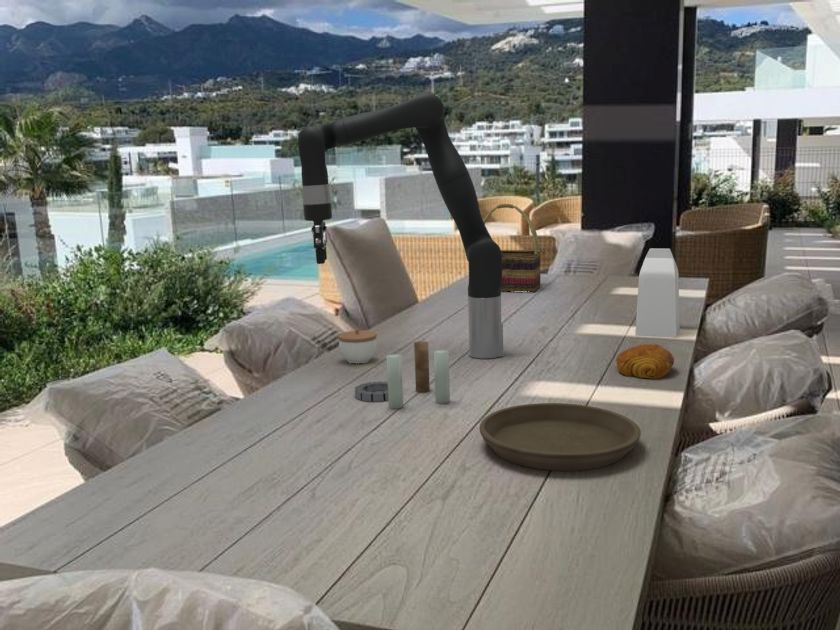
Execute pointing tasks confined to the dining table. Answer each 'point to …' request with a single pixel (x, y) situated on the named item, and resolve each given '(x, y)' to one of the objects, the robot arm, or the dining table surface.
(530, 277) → the basket
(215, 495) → the dining table surface
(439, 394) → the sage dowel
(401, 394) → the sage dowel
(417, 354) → the walnut dowel
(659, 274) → the milk
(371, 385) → the ring
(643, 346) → the croissant
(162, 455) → the dining table surface
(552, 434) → the plant saucer
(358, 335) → the lidded jar
